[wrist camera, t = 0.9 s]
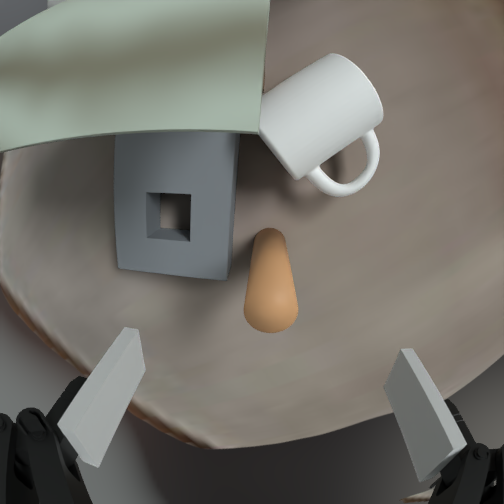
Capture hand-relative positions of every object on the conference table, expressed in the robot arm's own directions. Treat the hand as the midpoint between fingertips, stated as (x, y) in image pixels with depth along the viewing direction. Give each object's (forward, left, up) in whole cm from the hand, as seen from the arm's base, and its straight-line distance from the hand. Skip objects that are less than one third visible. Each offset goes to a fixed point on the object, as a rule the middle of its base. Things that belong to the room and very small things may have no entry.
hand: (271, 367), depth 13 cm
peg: (0, 0, -19) cm, 19 cm away
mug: (-12, +4, -19) cm, 23 cm away
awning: (-14, -10, -19) cm, 26 cm away
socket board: (-6, -10, -19) cm, 22 cm away
